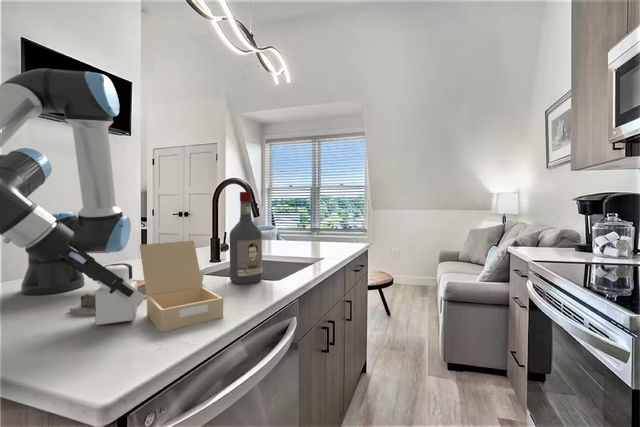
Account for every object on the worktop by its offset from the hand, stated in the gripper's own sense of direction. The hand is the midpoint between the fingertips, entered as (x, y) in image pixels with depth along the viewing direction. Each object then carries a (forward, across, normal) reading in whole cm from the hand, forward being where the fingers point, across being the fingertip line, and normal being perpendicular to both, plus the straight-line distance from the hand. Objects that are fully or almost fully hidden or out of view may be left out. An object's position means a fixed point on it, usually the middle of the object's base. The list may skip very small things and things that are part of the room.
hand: (132, 297), depth 75 cm
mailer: (+9, +5, +3) cm, 11 cm away
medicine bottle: (+1, 0, -5) cm, 5 cm away
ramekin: (+20, -19, +12) cm, 30 cm away
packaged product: (+5, -15, -3) cm, 16 cm away
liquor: (+30, -8, +23) cm, 39 cm away
